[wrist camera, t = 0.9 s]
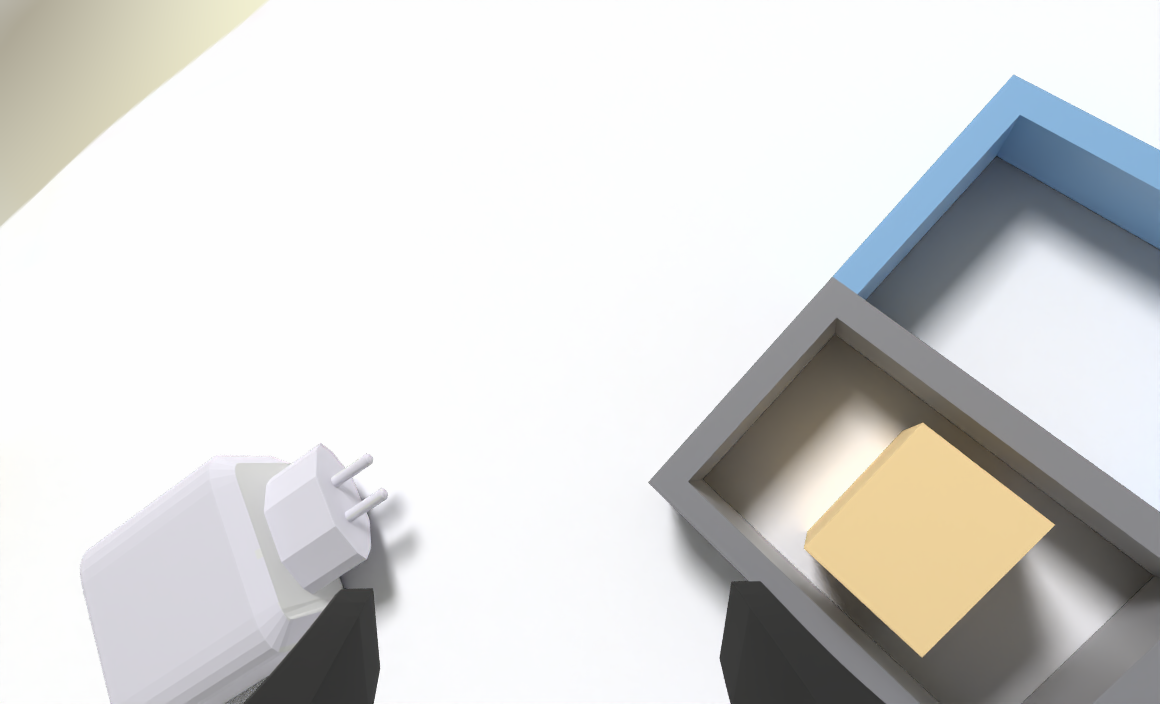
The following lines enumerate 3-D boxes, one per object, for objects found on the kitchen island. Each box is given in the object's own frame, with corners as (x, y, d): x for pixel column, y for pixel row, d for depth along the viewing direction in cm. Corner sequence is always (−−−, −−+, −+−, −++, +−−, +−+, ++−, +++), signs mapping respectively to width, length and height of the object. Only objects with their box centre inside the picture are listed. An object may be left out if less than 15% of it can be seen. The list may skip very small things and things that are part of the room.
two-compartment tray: (1435, 365, 19) (1543, 348, 16) (987, 790, 21) (1012, 842, 18) (991, 120, 24) (1013, 74, 21) (666, 480, 26) (648, 482, 23)
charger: (451, 565, 29) (217, 711, 32) (374, 390, 32) (167, 539, 35) (384, 584, 24) (120, 750, 27) (302, 379, 27) (72, 551, 30)
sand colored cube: (1005, 511, 22) (1054, 524, 17) (901, 617, 22) (922, 657, 18) (902, 430, 23) (922, 422, 19) (807, 531, 24) (803, 548, 19)
